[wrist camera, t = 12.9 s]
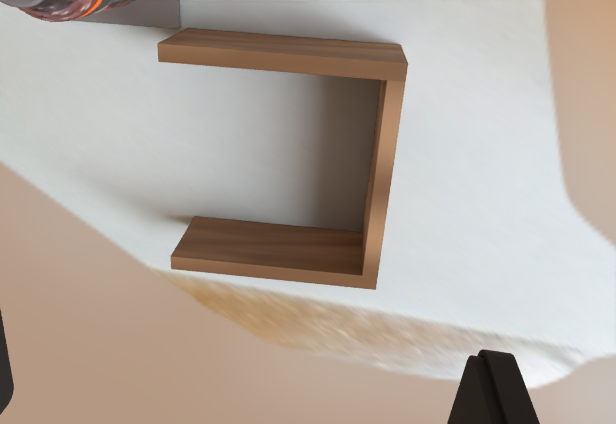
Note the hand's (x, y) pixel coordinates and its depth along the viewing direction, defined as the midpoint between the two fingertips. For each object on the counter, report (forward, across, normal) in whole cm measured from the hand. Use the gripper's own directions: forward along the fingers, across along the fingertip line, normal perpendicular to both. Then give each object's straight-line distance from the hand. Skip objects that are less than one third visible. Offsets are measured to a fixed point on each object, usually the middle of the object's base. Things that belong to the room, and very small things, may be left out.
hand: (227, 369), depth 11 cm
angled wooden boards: (+28, +2, +5) cm, 29 cm away
